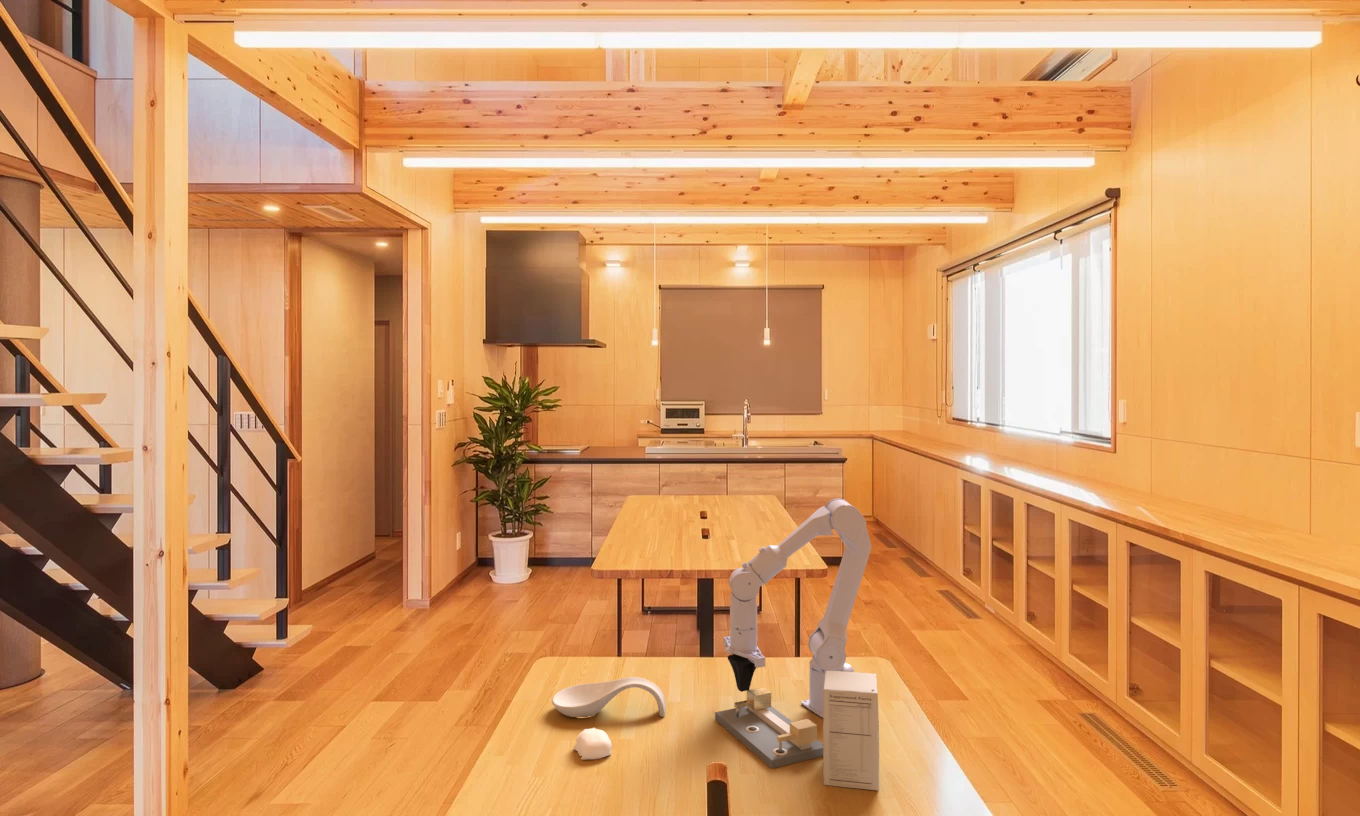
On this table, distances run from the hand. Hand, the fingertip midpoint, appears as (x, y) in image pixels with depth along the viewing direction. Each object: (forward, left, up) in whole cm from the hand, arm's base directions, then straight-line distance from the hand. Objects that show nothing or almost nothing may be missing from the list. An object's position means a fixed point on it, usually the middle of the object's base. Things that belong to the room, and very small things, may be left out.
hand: (743, 689), depth 161 cm
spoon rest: (+27, -10, -4) cm, 29 cm away
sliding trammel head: (+2, +6, -2) cm, 7 cm away
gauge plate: (+2, +13, -4) cm, 14 cm away
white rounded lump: (+35, +5, -4) cm, 35 cm away
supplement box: (-3, +32, -4) cm, 33 cm away
